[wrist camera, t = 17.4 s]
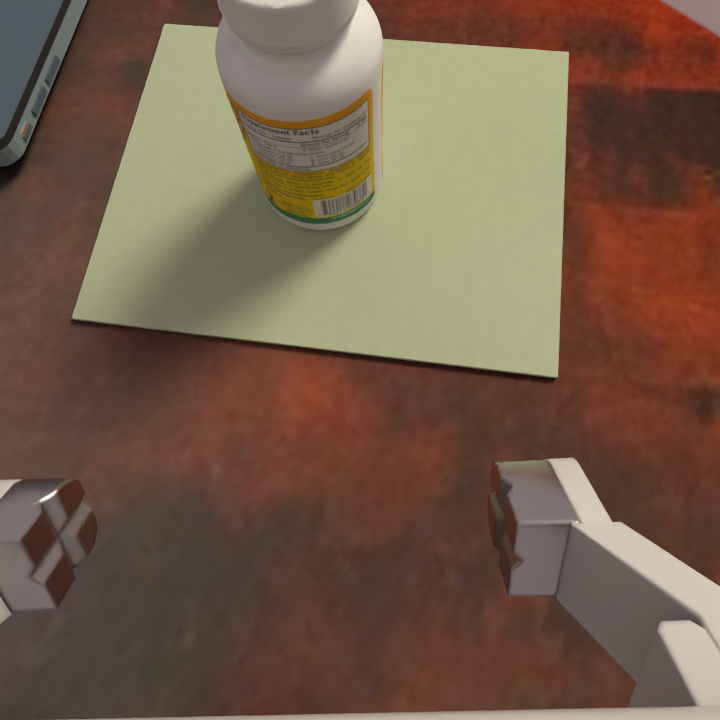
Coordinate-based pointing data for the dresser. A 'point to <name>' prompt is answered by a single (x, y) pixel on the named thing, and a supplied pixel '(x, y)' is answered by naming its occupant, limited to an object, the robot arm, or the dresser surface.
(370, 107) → the supplement bottle
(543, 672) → the dresser surface
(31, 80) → the smartphone
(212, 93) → the mat
